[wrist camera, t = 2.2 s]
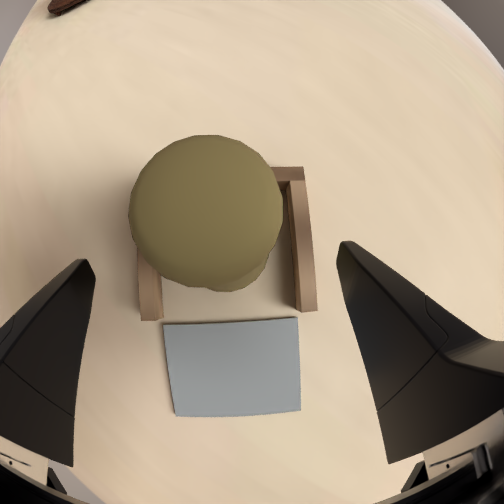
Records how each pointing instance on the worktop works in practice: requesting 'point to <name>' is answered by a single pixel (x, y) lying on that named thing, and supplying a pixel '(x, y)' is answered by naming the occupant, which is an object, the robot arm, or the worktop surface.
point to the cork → (206, 212)
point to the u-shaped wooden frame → (300, 243)
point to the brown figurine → (61, 5)
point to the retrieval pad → (234, 367)
